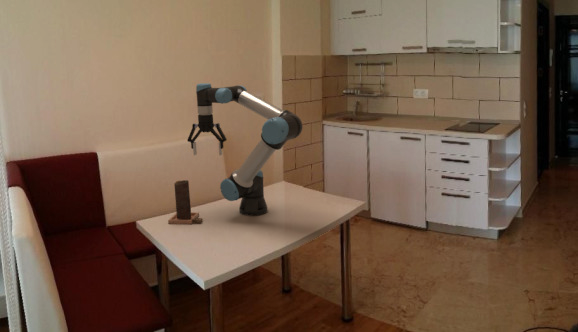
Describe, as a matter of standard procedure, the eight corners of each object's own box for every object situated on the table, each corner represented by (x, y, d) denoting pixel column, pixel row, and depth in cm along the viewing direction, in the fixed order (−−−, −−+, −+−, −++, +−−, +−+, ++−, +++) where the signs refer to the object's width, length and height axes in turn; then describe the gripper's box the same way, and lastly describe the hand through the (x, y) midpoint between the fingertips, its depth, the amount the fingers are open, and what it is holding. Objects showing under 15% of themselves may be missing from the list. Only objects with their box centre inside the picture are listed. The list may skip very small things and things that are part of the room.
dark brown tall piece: (188, 221, 262) (185, 183, 257) (174, 221, 263) (171, 182, 259) (193, 216, 269) (191, 179, 264) (180, 216, 270) (177, 179, 266)
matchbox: (202, 222, 262) (202, 218, 262) (200, 223, 259) (200, 220, 259) (193, 221, 263) (192, 218, 263) (191, 223, 260) (190, 220, 260)
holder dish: (199, 216, 272) (199, 212, 271) (191, 224, 259) (191, 220, 259) (177, 215, 273) (177, 212, 273) (168, 223, 261) (168, 220, 260)
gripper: (230, 112, 266) (233, 153, 271) (184, 113, 270) (186, 153, 274) (227, 114, 259) (229, 156, 264) (179, 115, 262) (182, 156, 267)
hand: (207, 154), depth 269 cm, fingers open, 13 cm apart
